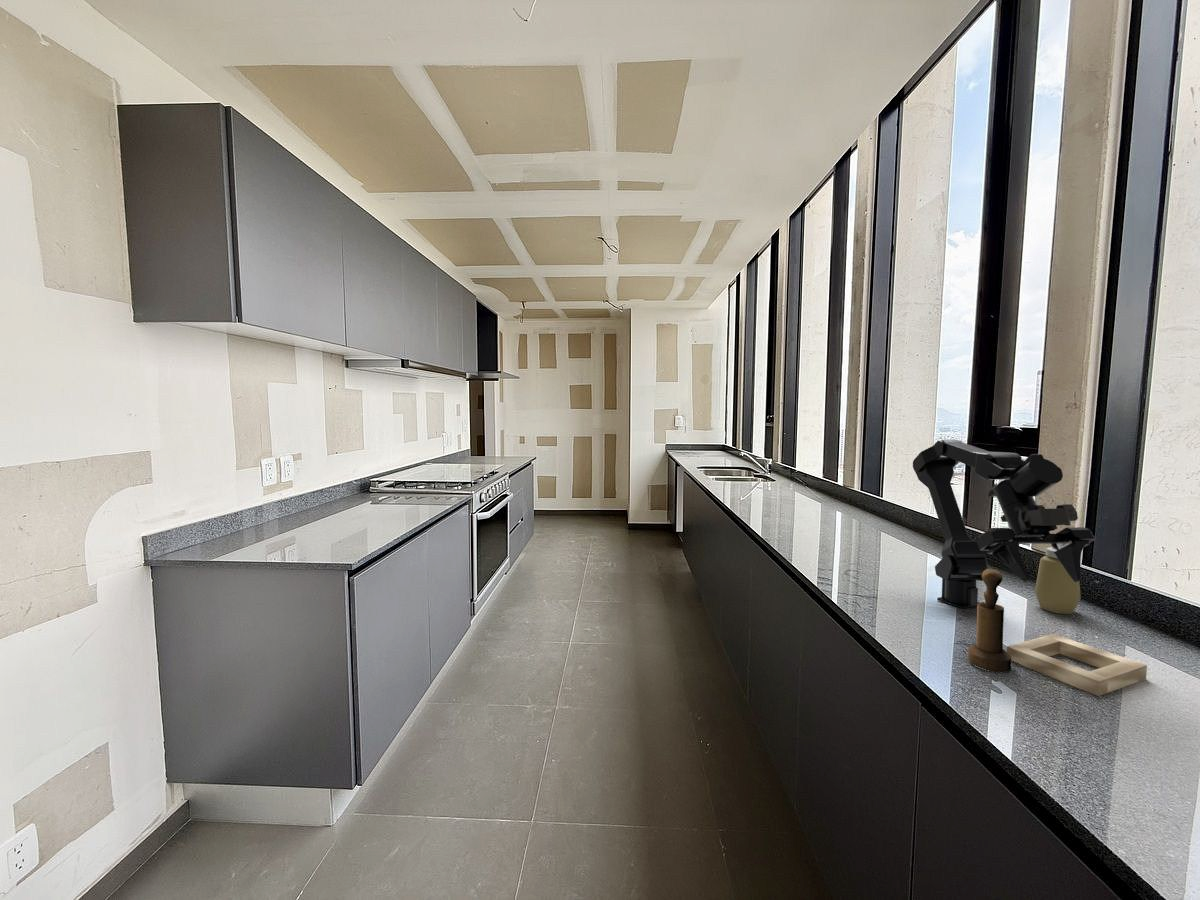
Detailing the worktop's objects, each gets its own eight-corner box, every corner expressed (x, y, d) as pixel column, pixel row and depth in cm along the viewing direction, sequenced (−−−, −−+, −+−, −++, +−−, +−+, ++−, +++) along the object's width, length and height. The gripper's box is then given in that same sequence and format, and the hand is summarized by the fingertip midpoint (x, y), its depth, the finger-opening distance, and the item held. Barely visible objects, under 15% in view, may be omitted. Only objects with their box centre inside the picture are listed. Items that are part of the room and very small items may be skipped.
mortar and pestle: (958, 656, 100) (961, 565, 99) (990, 654, 101) (993, 563, 99) (987, 674, 94) (990, 576, 92) (1020, 671, 94) (1024, 574, 93)
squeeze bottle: (1070, 619, 117) (1073, 540, 115) (1027, 607, 124) (1030, 533, 122) (1086, 612, 120) (1090, 535, 119) (1044, 601, 127) (1047, 528, 126)
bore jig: (1006, 659, 99) (1006, 646, 99) (1052, 645, 104) (1053, 633, 104) (1098, 696, 86) (1099, 681, 86) (1146, 679, 91) (1146, 665, 91)
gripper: (994, 489, 101) (1028, 567, 93) (1096, 488, 100) (1139, 567, 92) (963, 513, 110) (992, 586, 102) (1056, 513, 109) (1092, 586, 101)
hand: (1052, 581), depth 99 cm, fingers open, 9 cm apart
